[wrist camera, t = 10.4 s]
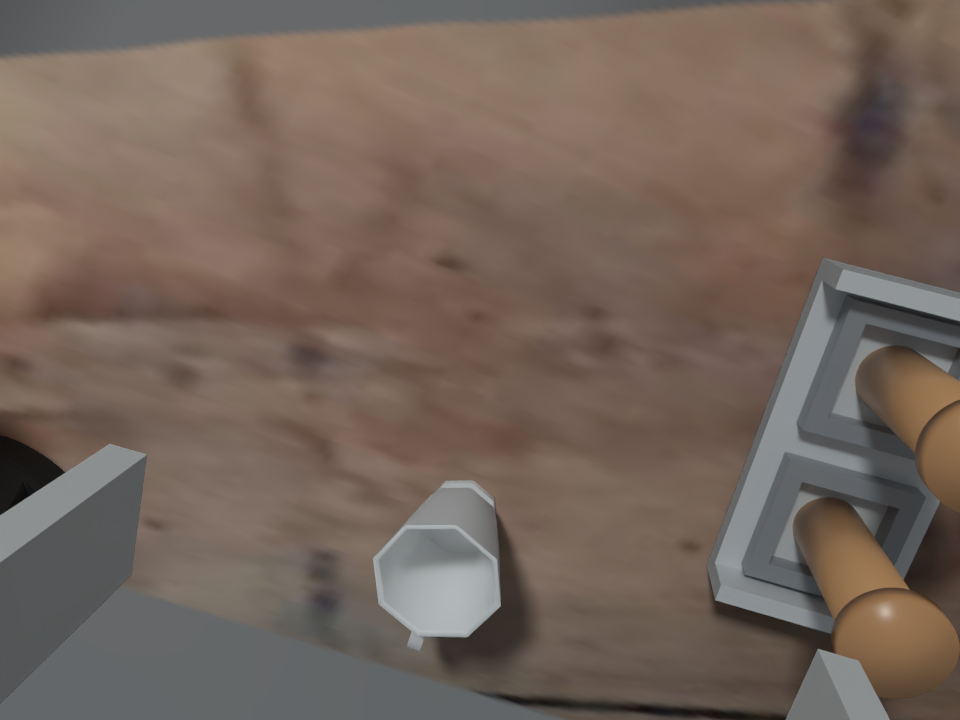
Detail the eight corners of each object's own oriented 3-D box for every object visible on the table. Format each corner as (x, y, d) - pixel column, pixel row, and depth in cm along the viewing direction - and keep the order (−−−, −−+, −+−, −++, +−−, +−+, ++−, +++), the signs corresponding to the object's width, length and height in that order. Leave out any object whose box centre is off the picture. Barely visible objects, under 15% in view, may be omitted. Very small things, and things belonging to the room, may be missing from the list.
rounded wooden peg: (769, 551, 45) (820, 679, 34) (799, 476, 43) (862, 587, 33) (853, 575, 44) (931, 712, 34) (886, 500, 43) (979, 620, 32)
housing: (706, 565, 47) (715, 600, 43) (822, 257, 41) (843, 269, 37) (874, 614, 46) (896, 652, 42) (1016, 307, 40) (1055, 323, 37)
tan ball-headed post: (863, 323, 40) (954, 388, 30) (957, 348, 40) (1083, 422, 30) (829, 408, 42) (904, 498, 31) (919, 432, 41) (1026, 532, 31)
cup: (535, 481, 47) (522, 550, 39) (483, 616, 50) (462, 704, 42) (425, 441, 47) (390, 501, 39) (380, 577, 50) (341, 657, 43)
